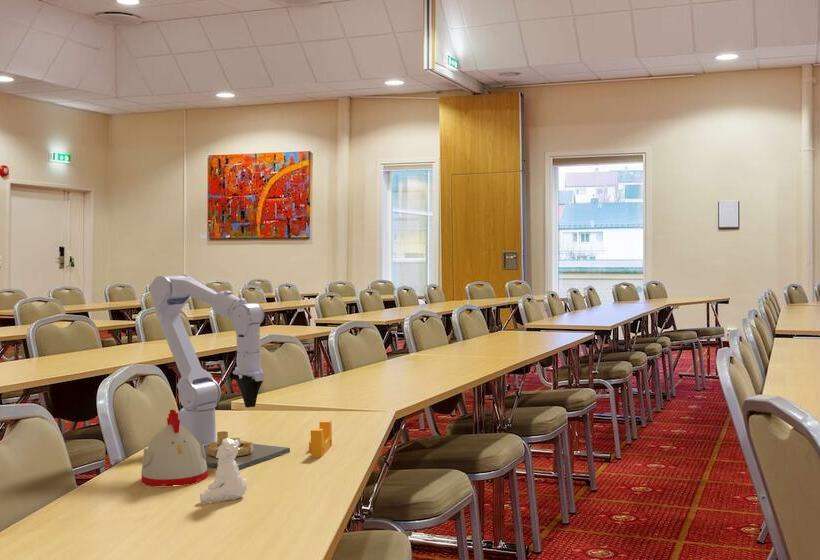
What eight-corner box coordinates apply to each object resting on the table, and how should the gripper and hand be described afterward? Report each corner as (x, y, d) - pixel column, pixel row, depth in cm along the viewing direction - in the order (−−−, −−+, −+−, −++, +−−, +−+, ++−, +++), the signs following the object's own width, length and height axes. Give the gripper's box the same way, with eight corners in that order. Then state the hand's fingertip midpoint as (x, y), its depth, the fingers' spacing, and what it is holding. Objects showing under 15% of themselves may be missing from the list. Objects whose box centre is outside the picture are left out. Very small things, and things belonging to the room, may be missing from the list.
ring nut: (237, 445, 225) (236, 421, 225) (261, 451, 218) (260, 427, 217) (199, 452, 218) (198, 428, 218) (222, 459, 210) (221, 434, 210)
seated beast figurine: (210, 491, 188) (208, 433, 187) (251, 490, 187) (250, 432, 187) (198, 504, 178) (196, 443, 178) (242, 503, 178) (240, 442, 177)
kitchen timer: (148, 490, 189) (146, 418, 189) (135, 476, 201) (133, 408, 201) (215, 481, 196) (213, 411, 195) (198, 468, 208) (196, 402, 207)
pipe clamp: (314, 446, 229) (314, 420, 228) (331, 446, 228) (331, 420, 228) (304, 457, 217) (303, 430, 216) (322, 457, 216) (321, 430, 216)
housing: (169, 461, 214) (168, 444, 214) (225, 444, 231) (225, 428, 231) (236, 470, 204) (236, 452, 204) (289, 451, 222) (289, 435, 222)
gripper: (222, 350, 229) (224, 404, 230) (244, 356, 217) (245, 412, 218) (249, 348, 233) (250, 401, 234) (271, 353, 221) (273, 409, 221)
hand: (250, 406), depth 226 cm, fingers closed
